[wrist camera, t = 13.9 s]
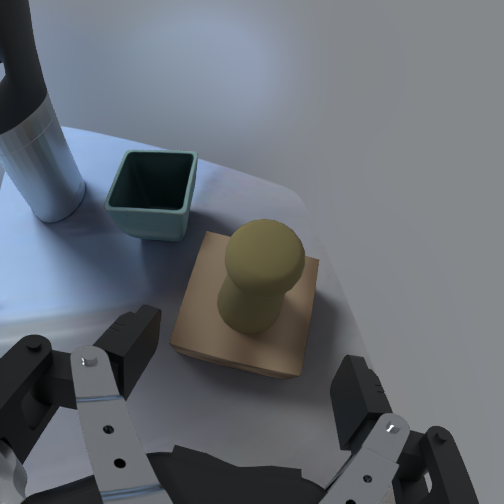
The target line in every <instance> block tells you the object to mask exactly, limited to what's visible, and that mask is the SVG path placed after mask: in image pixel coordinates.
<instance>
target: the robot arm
mask: <svg viewBox="0 0 504 504" xmlns="http://www.w3.org/2000/svg"><path fill="white" fill-rule="evenodd" d="M2 62H3V63H4V67H5V74H6V75H5V77H4V78H3V79H2V81H1V82H0V163H1V164H2V166H3V167H4V169H5V171H6V172H7V174H8V175H9V177H10V179H11V180H12V182H13V183H14V185H15V186H16V188H17V189H18V190H19V192H20V193H21V195H22V196H23V198H24V199H25V201H26V202H27V203H28V205H29V206H30V208H31V209H32V210H33V212H34V213H35V214H36V216H37V217H38V218H39V219H40V220H41V221H44V222H48V223H52V222H57V221H60V220H62V219H64V218H66V217H67V216H69V215H70V214H71V213H73V212H74V211H75V209H76V208H77V207H78V206H79V204H80V203H81V201H82V199H83V197H84V194H85V183H84V181H83V179H82V176H81V174H80V172H79V170H78V168H77V165H76V163H75V160H74V158H73V156H72V154H71V151H70V149H69V146H68V144H67V142H66V139H65V137H64V134H63V132H62V129H61V126H60V124H59V121H58V119H57V116H56V113H55V110H54V108H53V105H52V103H51V99H50V97H49V94H48V91H47V88H46V85H45V82H44V78H43V74H42V70H41V66H40V62H39V58H38V54H37V50H36V46H35V41H34V35H33V29H32V22H31V14H30V8H29V1H28V0H0V63H2ZM160 321H161V310H160V309H157V308H154V307H151V306H148V305H143V306H142V307H141V308H140V309H139V310H138V311H137V313H136V314H135V313H132V312H128V313H126V314H123V315H121V316H120V317H119V318H118V319H117V320H116V321H115V322H114V324H112V325H111V326H110V327H109V329H107V330H106V331H105V333H104V334H103V335H102V336H101V337H100V338H99V339H98V340H97V341H96V342H95V343H94V344H93V346H81V347H78V348H77V349H75V350H74V351H73V352H72V353H65V352H60V351H55V350H52V347H51V343H50V341H49V340H48V339H47V338H45V337H44V336H41V335H28V336H25V337H23V338H22V339H20V340H19V341H18V342H17V343H16V344H15V345H14V346H13V347H12V348H11V349H10V350H9V351H8V352H7V353H6V354H5V355H4V356H3V357H2V358H0V504H379V503H380V501H381V500H382V498H383V496H384V494H385V492H386V491H387V489H388V487H389V485H390V483H391V481H392V486H393V491H394V496H395V502H396V504H479V502H478V499H477V496H476V494H475V491H474V488H473V485H472V483H471V480H470V477H469V475H468V472H467V470H466V467H465V465H464V462H463V460H462V457H461V455H460V453H459V450H458V448H457V446H456V443H455V441H454V439H453V436H452V435H451V434H450V432H449V431H448V430H446V429H445V428H443V427H440V426H432V427H430V428H429V429H428V430H427V432H426V433H425V434H423V433H419V432H415V431H412V430H410V427H409V425H408V423H407V421H406V420H405V419H403V418H402V417H400V416H399V415H396V414H393V412H392V409H391V407H390V404H389V402H388V400H387V397H386V395H385V393H384V390H383V387H381V386H382V385H381V382H380V380H379V378H378V376H377V375H376V374H375V373H374V372H373V371H372V370H371V369H368V367H367V364H366V362H365V359H364V358H363V357H359V356H353V355H346V356H345V357H344V359H343V361H342V363H341V365H340V367H339V369H338V371H337V373H336V375H335V377H334V379H333V381H332V384H331V388H330V396H331V401H332V406H333V411H334V417H335V422H336V427H337V433H338V438H339V444H340V450H349V451H351V453H352V454H351V456H350V457H349V458H348V459H347V461H346V462H345V463H344V464H343V466H342V467H341V468H340V470H339V471H338V472H337V473H336V475H335V476H334V477H333V478H332V480H331V481H330V482H329V483H328V485H327V486H326V487H325V488H324V489H323V488H322V487H321V486H319V485H317V484H316V483H314V482H312V481H309V480H307V479H304V478H302V476H301V469H294V468H285V467H277V466H259V467H237V466H234V465H232V464H229V463H227V462H224V461H222V460H220V459H218V458H215V457H213V456H211V455H209V454H207V453H203V452H199V451H195V450H191V449H188V448H184V447H181V446H177V445H175V446H174V449H173V452H172V453H171V452H155V453H148V454H146V453H145V451H144V449H143V446H142V444H141V442H140V439H139V437H138V434H137V432H136V429H135V427H134V424H133V422H132V419H131V416H130V414H129V411H128V408H127V405H126V400H127V398H128V396H129V395H130V393H131V391H132V390H133V388H134V386H135V385H136V383H137V381H138V380H139V378H140V376H141V375H142V373H143V371H144V370H145V368H146V366H147V365H148V363H149V361H150V360H151V358H152V356H153V355H154V353H155V351H156V348H157V345H158V340H159V331H160ZM59 406H61V407H66V408H71V409H76V410H78V414H79V419H80V424H81V428H82V433H83V437H84V441H85V445H86V449H87V452H88V456H89V460H90V463H91V466H92V470H93V473H94V474H93V475H91V476H88V477H85V478H83V479H80V480H77V481H74V482H71V483H68V484H65V485H62V486H59V487H56V488H53V489H49V490H46V491H42V492H39V493H35V494H33V495H30V496H29V497H27V498H26V496H25V487H26V484H27V473H26V471H25V469H24V467H23V466H22V465H23V463H24V462H25V460H26V458H27V457H28V455H29V453H30V452H31V450H32V448H33V447H34V445H35V443H36V442H37V440H38V439H39V437H40V436H41V434H42V432H43V431H44V429H45V428H46V426H47V425H48V423H49V422H50V420H51V418H52V417H53V415H54V414H55V412H56V411H57V409H58V408H59ZM428 472H429V474H430V478H431V481H432V489H431V491H430V493H429V492H428V488H427V485H426V481H425V478H424V475H425V474H426V473H428Z"/></svg>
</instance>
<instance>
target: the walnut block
mask: <svg viewBox="0 0 504 504" xmlns="http://www.w3.org/2000/svg"><path fill="white" fill-rule="evenodd" d="M230 238H231V237H229V236H225V235H221V234H217V233H213V232H209V231H206V233H205V236H204V239H203V242H202V245H201V247H200V250H199V253H198V256H197V259H196V262H195V265H194V268H193V271H192V274H191V277H190V280H189V283H188V286H187V289H186V292H185V295H184V298H183V301H182V304H181V307H180V310H179V313H178V317H177V320H176V323H175V326H174V329H173V333H172V336H171V339H170V342H169V344H170V345H171V346H172V347H173V348H174V349H175V351H176V352H177V353H180V354H183V355H186V356H190V357H193V358H197V359H200V360H204V361H208V362H211V363H215V364H219V365H223V366H227V367H231V368H235V369H239V370H243V371H247V372H252V373H256V374H261V375H265V376H270V377H275V378H280V379H285V380H286V379H290V378H294V377H298V376H300V375H301V370H302V365H303V360H304V354H305V349H306V343H307V338H308V332H309V326H310V320H311V314H312V307H313V301H314V294H315V287H316V280H317V273H318V265H319V260H318V259H315V258H311V257H307V256H305V267H304V270H303V273H302V276H301V278H300V279H299V281H298V282H297V283H296V284H295V285H294V287H293V288H292V289H291V290H289V291H288V292H286V293H285V297H284V300H283V304H282V308H281V311H280V314H279V317H278V319H277V320H276V322H275V323H274V324H273V325H272V326H271V327H270V328H268V329H266V330H265V331H263V332H259V333H255V334H246V333H241V332H238V331H236V330H233V329H232V328H231V327H229V326H228V325H227V324H226V323H225V322H224V321H223V319H222V317H221V316H220V314H219V311H218V306H217V299H218V293H219V291H220V289H221V287H222V284H223V282H224V280H225V278H226V276H227V270H226V266H225V252H226V246H227V244H228V242H229V240H230Z"/></svg>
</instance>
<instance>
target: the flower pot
mask: <svg viewBox="0 0 504 504" xmlns="http://www.w3.org/2000/svg"><path fill="white" fill-rule="evenodd" d="M197 160H198V154H197V152H191V151H166V150H128V151H126V152H125V154H124V156H123V159H122V161H121V163H120V166H119V168H118V171H117V173H116V176H115V178H114V181H113V183H112V186H111V188H110V191H109V193H108V196H107V198H106V201H105V204H104V209H105V210H106V211H107V213H108V214H109V215H110V217H111V218H112V219H113V221H114V222H115V223H116V225H117V226H118V227H119V228H120V229H121V230H122V231H123V232H124V233H126V234H127V235H130V236H132V237H136V238H141V239H150V240H163V241H174V242H176V241H180V240H182V239H183V238H184V236H185V234H186V229H187V223H188V217H189V211H190V206H191V201H192V196H193V191H194V187H195V180H196V170H197Z"/></svg>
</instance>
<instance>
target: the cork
mask: <svg viewBox="0 0 504 504" xmlns="http://www.w3.org/2000/svg"><path fill="white" fill-rule="evenodd" d="M225 266H226V270H227V276H226V278H225V280H224V282H223V284H222V287H221V289H220V291H219V293H218V299H217V306H218V311H219V314H220V316H221V317H222V319H223V321H224V322H225V323H226V324H227V325H228V326H229V327H231V328H232V329H233V330H236V331H238V332H241V333H246V334H255V333H259V332H263V331H265V330H266V329H268V328H270V327H271V326H272V325H273V324H274V323H275V322H276V320H277V319H278V317H279V314H280V311H281V308H282V304H283V300H284V297H285V293H286V292H288V291H289V290H291V289H292V288H293V287H294V285H295V284H296V283H297V282H298V281H299V279H300V278H301V276H302V273H303V270H304V267H305V251H304V248H303V245H302V242H301V240H300V239H299V238H298V236H297V235H296V234H295V233H294V231H293V230H292V229H290V228H289V227H288V226H286V225H285V224H283V223H280V222H278V221H275V220H268V219H261V220H254V221H250V222H248V223H246V224H244V225H242V226H241V227H240V228H238V229H237V230H236V231H235V232H234V233H233V235H232V236H231V238H230V240H229V242H228V244H227V246H226V252H225Z"/></svg>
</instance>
